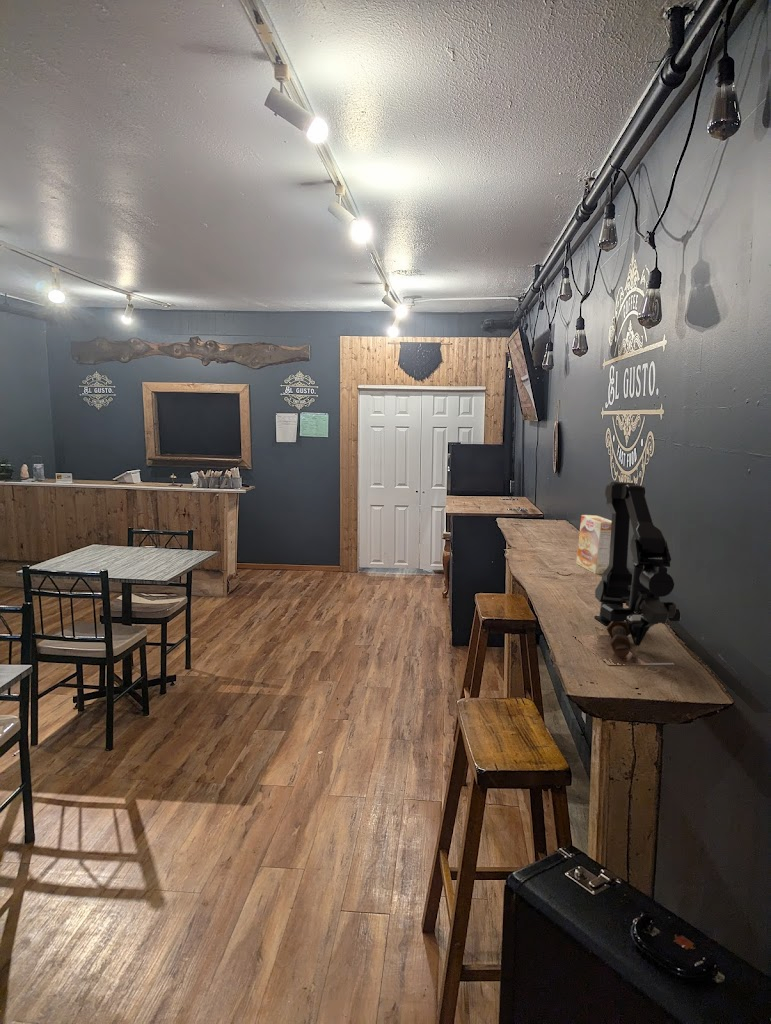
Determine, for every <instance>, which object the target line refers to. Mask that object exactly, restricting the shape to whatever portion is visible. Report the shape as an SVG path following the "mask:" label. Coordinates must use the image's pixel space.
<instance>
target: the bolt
mask: <svg viewBox="0 0 771 1024" xmlns="http://www.w3.org/2000/svg"><path fill="white" fill-rule="evenodd" d="M606 630H607V632H608V635H610V638H611V639H612V640H611V641H610V644H611V646H612V648H613V650H614V652H615V653H616V654H617V655H618V656H621V657H624V656H627V655H628V654H629V651H630V650H631V649H632V647H633V646H632V643H631V640H630V638H629V637H628V635H631V633H630V630H629V627H628V625H627V623H626V621H624V622H613V621H612V622H611V623H610V624H609V625H607V627H606Z"/></svg>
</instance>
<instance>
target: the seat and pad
mask: <svg viewBox="0 0 771 1024" xmlns="http://www.w3.org/2000/svg"><path fill="white" fill-rule="evenodd" d="M580 635H581V636H582V637H581V638H582V640H583V641H584V642H585V643H582V644H581V645H582V646H584V647H585V648H586V649H587V648H588V649H587V650H589V651H590V652H591V653H592V654H593V653H594V655H595V656H596V657H597V658H598V657H599V658H598V659H600V660H601V661H602V660H603V659H606V660H607V661H609V662H610V660H609V659H611V660H612V662H613V663H614V664H616V665H617V663H619V664H621V665H623V664H625V666H671V665H673V666H675V664H676V663H674V662H651V663H650V662H648V663H647V662H645V661H644V660H642V659H641V658H639V656H637V655H635V654H633V653H632V652H631V651H630V650H629V654H628V655H627V656H624V657H621V656H618V655H617V654H616V653H615V652H614V650H613V648H612V646H611V644H610V641H611V640H612V639H611V637H609V636H610V635H609V634H597V635H598V636H597V637H596V636H595V637H596V638H597V639H598V640H597V639H596V638H595V637H594V635H595V634H580ZM583 635H584V636H583ZM588 635H589V636H590V637H589V636H588ZM578 637H579V636H578ZM629 637H630V638H632V636H631V634H629V635H628V638H629ZM579 638H580V637H579ZM579 638H578V639H579ZM586 639H587V641H589V642H590V644H589V643H587V642H586ZM582 640H580V639H579V641H582ZM579 641H578V642H579ZM583 641H582V642H583ZM592 641H593V642H594V643H593V642H592ZM595 641H597V644H596V642H595ZM591 642H592V643H591ZM600 657H601V658H600ZM610 663H611V662H610Z"/></svg>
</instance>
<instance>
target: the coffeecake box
mask: <svg viewBox="0 0 771 1024" xmlns="http://www.w3.org/2000/svg"><path fill="white" fill-rule="evenodd" d="M580 516H581V517H580V523H579V525H580V527H579V535H578V544H577V553H576V562H575V564H576V565H578V566H580V567H582V568H583V569H585V570H586V571H589V572H591V573H592V574H594V575H602V574H603V573H604V571H605V570H606V569H607V567H608V566H609V556H610V540H611V523H612V519H611V520H610V519H608V518H606V517H602V516H600V515H594V514H593V515H592V514H581V515H580Z"/></svg>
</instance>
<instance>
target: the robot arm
mask: <svg viewBox="0 0 771 1024" xmlns="http://www.w3.org/2000/svg"><path fill="white" fill-rule="evenodd" d="M604 492H605V493H604V495H605V498H606V505H607V507H608V509H609V512H610V513H611V521H612V523H611V540H610V556H609V566H608V567H607V569H606V570H605V571H604V573H603V574H601V580H600V581H599V583H598V585H597V586H596V588H595V590H594V591H595V592H594V594H595V595H594V598H595V599H596V600H597V601H598V602H599V603H600V607H599V615H594V617H593V618H594V619H596V620H597V621H598V622H599V623H601V624H602V625H605V626H608V625H609V624H610V623H611V622H612V621H613V622H624V621H626V623H627V625H628V627H629V630H630V635H631V636H632V637H631V638H632V642H633V645H634V646H635V647H640V645H641V643H642V642H643V639H644V638H645V636H646V634H647V632H648V631H649V630H650V628H651V627H653V626H655V625H658V624H666V623H667V621H670V622H680V621H681V618H682V612H681V610H680V609H679V608H677V604H675V602H674V601H666V602H665V601H660V600H661V599H660V598H661V597H666V596H669V594H671V593H672V592H673V590H674V587H675V582H674V579H673V577H672V576H671V575H670V574H669V573H668V568H670V567H671V561H672V557H671V553H670V549H669V546H668V543H667V540H666V539H665V536H664V535H663V532H662V531H661V530H660V529H659V528H658V527H657V526H655V524H654V522H653V518H652V515H651V512H650V509H649V505H648V503H647V499H646V488H645V486H642V485H639V484H636V483H635V482H628V481H627V482H625V481H623V482H622V481H611V482H610V483H609V484H608V485H606V487H605V491H604ZM630 523H631V527H632V532H633V535H632V537H631V539H630V538H629V537H630ZM629 539H630V545H629ZM629 547H630V551H631V556H632V563H633V565H632V573H631V572H630V570H629V568H628V556H629V555H628V552H629ZM624 604H625V606H627V607H628V608H627V607H626V608H624Z"/></svg>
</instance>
